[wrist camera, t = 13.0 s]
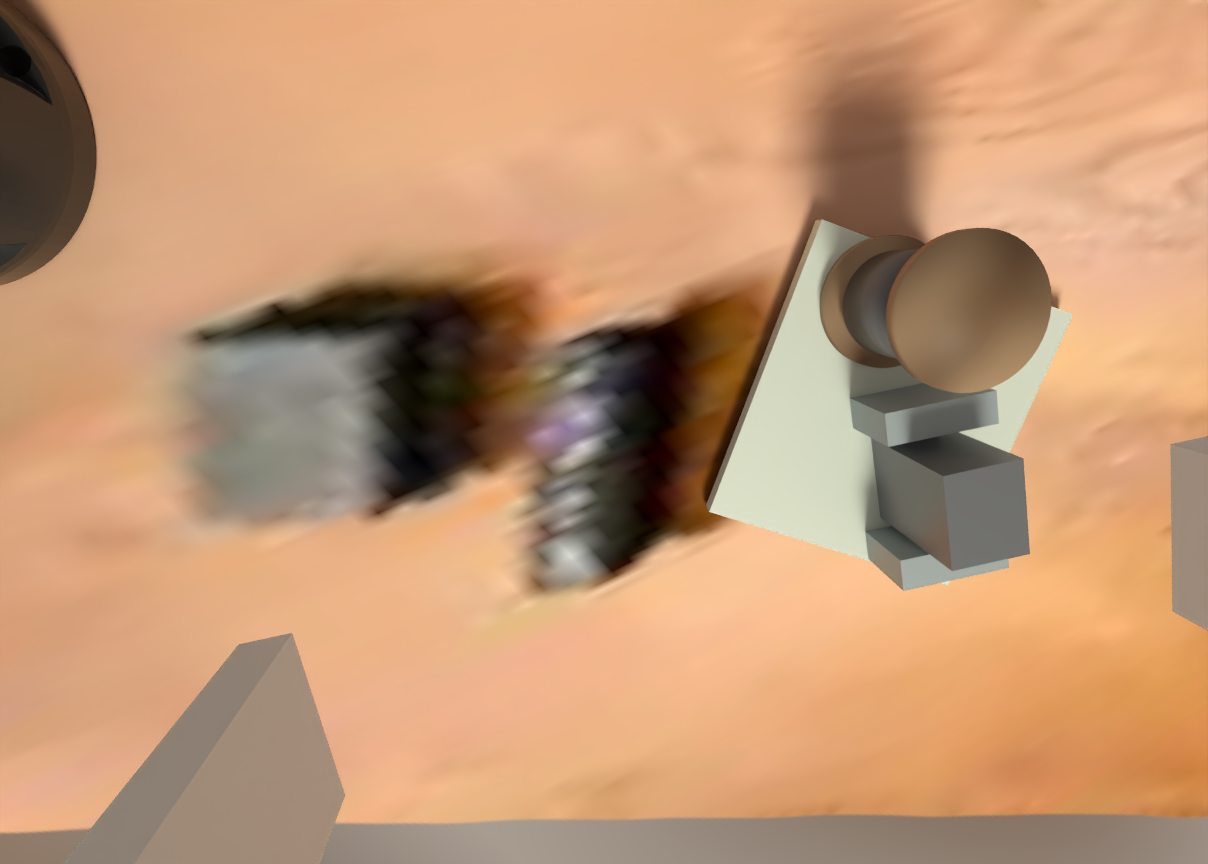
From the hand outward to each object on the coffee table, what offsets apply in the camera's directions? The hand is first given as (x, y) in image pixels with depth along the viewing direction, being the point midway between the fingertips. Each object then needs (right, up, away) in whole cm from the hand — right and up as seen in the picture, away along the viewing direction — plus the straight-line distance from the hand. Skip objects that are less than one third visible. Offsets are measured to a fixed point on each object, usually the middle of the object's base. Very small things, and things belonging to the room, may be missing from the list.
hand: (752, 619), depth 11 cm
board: (+14, +4, +33) cm, 36 cm away
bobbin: (+13, +10, +31) cm, 36 cm away
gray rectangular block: (+16, 0, +33) cm, 36 cm away
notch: (+16, +1, +34) cm, 37 cm away
